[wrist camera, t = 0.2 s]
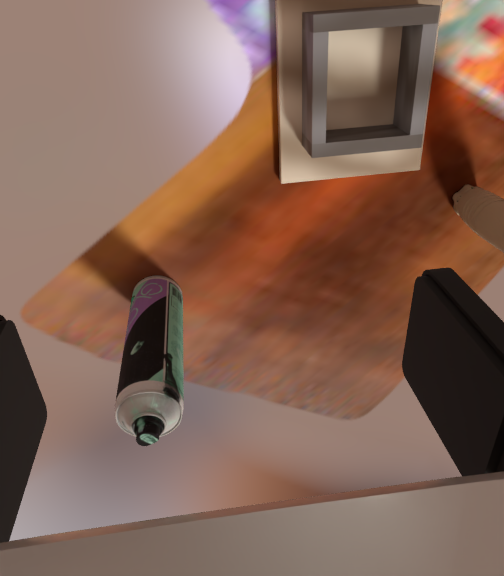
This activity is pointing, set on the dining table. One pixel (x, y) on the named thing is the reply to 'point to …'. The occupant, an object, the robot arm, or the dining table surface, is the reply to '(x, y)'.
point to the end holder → (353, 85)
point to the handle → (482, 213)
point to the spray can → (152, 362)
